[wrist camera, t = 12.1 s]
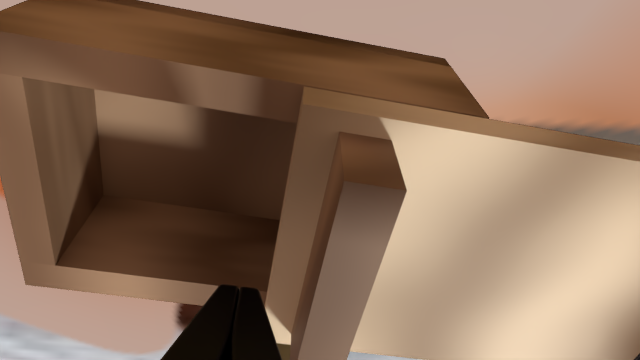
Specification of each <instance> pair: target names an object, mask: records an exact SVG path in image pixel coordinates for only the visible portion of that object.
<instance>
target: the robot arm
mask: <svg viewBox="0 0 640 360" xmlns="http://www.w3.org/2000/svg"><path fill="white" fill-rule="evenodd" d="M161 360H282V358H281V355H280V352H279V349H278V346H277V343H276V340H275V337H274V334H273V331H272V328H271V325H270V322H269V318H268V315H267V312H266V309H265V306H264V303H263V300H262V297H261V294H260V292H259V290H258V289H257V288H251V287H240V289H239V288H238V286H235V285H227V284H221V285H220V286H218V288H217V289H216V290H215V291H214V293H213V294H212V295H211V296H210V298H209V299H208V300H207V302H206V303H205V304H204V305H203V307H202V308H201V309H200V310H199V312H198V313H197V314H196V315H195V317H194V318H193V319H192V321H191V322H190V323H189V324H188V326H187V327H186V328H185V329H184V331H183V332H182V333H181V334H180V336H179V337H178V338H177V340H176V341H175V342H174V343H173V345H172V346H171V347H170V348H169V350H168V351H167V352H166V353H165V355H164V356H163V357H162V359H161ZM634 360H640V353H639V354H638V356H637V357H636V358H635V359H634Z"/></svg>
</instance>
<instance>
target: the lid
mask: <svg viewBox="0 0 640 360" xmlns="http://www.w3.org/2000/svg"><path fill="white" fill-rule="evenodd" d="M265 309H266V312H267V315H268V318H269V322H270V325H271V328H272V331H273V334H274V337H275V340H276V343H280V344H289V345H291V347H290V360H347V357H348V354H349V352H350V351H352V352H361V353H370V354H379V355H387V356H396V357H405V358H414V359H423V360H634V359H635V358H636V357H637V356H638V354H639V353H640V146H639V145H634V144H628V143H622V142H617V141H611V140H605V139H600V138H594V137H588V136H582V135H577V134H571V133H565V132H560V131H554V130H548V129H543V128H537V127H531V126H526V125H520V124H514V123H509V122H503V121H497V120H492V119H486V118H480V117H475V116H469V115H463V114H458V113H452V112H446V111H441V110H435V109H429V108H424V107H418V106H412V105H407V104H401V103H395V102H389V101H384V100H378V99H372V98H367V97H361V96H355V95H350V94H344V93H338V92H333V91H327V90H321V89H316V88H310V87H304V89H303V94H302V100H301V105H300V111H299V117H298V122H297V128H296V133H295V139H294V145H293V150H292V156H291V161H290V167H289V172H288V178H287V184H286V189H285V195H284V200H283V206H282V212H281V217H280V223H279V228H278V234H277V239H276V245H275V251H274V256H273V262H272V267H271V273H270V279H269V284H268V290H267V295H266V301H265Z"/></svg>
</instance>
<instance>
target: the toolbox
mask: <svg viewBox="0 0 640 360" xmlns="http://www.w3.org/2000/svg"><path fill="white" fill-rule="evenodd" d="M304 87H310V88H316V89H321V90H327V91H333V92H338V93H344V94H350V95H355V96H361V97H367V98H372V99H378V100H384V101H389V102H395V103H401V104H407V105H412V106H418V107H424V108H429V109H435V110H441V111H446V112H452V113H458V114H463V115H469V116H475V117H480V118H486V119H489V117H488V115H487V114H486V113H485V112H484V110H483V109H482V107H481V106H480V105H479V103H478V102H477V101H476V99H475V98H474V97H473V95H472V94H471V93H470V91H469V90H468V89H467V88H466V86H465V85H464V84H463V82H462V81H461V80H460V78H459V77H458V76H457V74H456V73H455V72H454V70H453V69H452V68H451V66H450V65H449V64H448V62H447V61H446V60H445V59H444V58H439V57H434V56H428V55H423V54H418V53H412V52H407V51H402V50H397V49H391V48H386V47H381V46H375V45H370V44H365V43H359V42H354V41H349V40H343V39H339V38H334V37H328V36H323V35H318V34H312V33H307V32H302V31H296V30H291V29H286V28H281V27H275V26H270V25H265V24H260V23H254V22H249V21H244V20H239V19H233V18H228V17H222V16H217V15H212V14H207V13H202V12H196V11H191V10H186V9H180V8H175V7H170V6H165V5H159V4H154V3H149V2H143V1H138V0H27V1H24V2H22V3H19V4H17V5H14V6H12V7H9V8H7V9H4V10H2V11H0V177H1V181H2V185H3V190H4V194H5V198H6V202H7V206H8V211H9V215H10V219H11V224H12V228H13V232H14V237H15V241H16V245H17V249H18V254H19V258H20V262H21V266H22V271H23V275H24V280H25V284H26V285H33V286H41V287H50V288H58V289H66V290H75V291H83V292H91V293H100V294H108V295H117V296H125V297H134V298H142V299H151V300H159V301H168V302H176V303H184V304H192V305H201V306H203V305H204V304H205V303H206V302H207V300H208V299H209V298H210V296H211V295H212V294H213V293H214V291H215V290H216V289H217V288H218V286H220V285H221V284H227V285H235V286H238V288H239V289H240V287H251V288H257V289H258V290H259V292H260V294H261V297H262V300H263V303H264V306H265V301H266V295H267V290H268V284H269V279H270V273H271V267H272V262H273V256H274V251H275V245H276V239H277V234H278V228H279V223H280V217H281V212H282V206H283V200H284V195H285V189H286V184H287V178H288V172H289V167H290V161H291V156H292V150H293V145H294V139H295V133H296V128H297V122H298V117H299V111H300V105H301V100H302V94H303V89H304Z"/></svg>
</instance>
